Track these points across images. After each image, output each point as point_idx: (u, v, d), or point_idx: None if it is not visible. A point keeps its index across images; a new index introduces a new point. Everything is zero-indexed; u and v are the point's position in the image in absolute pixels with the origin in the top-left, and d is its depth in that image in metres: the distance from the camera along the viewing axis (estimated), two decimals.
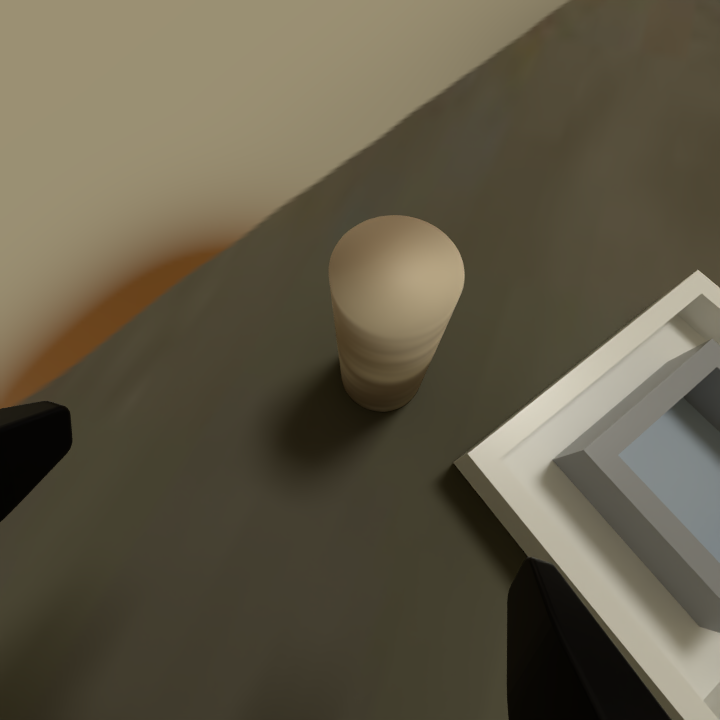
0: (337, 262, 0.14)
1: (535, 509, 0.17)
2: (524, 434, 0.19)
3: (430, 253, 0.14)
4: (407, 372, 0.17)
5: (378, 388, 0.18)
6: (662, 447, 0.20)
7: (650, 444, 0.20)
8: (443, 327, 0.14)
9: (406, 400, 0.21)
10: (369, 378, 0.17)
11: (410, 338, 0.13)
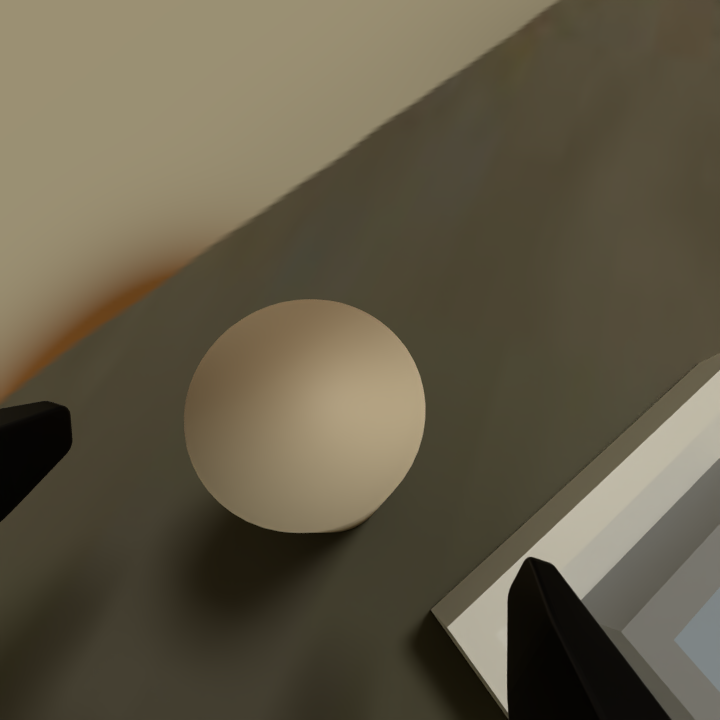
0: (202, 389, 0.08)
1: None
2: None
3: (366, 369, 0.08)
4: (348, 526, 0.11)
5: None
6: None
7: None
8: None
9: None
10: None
11: (330, 529, 0.07)
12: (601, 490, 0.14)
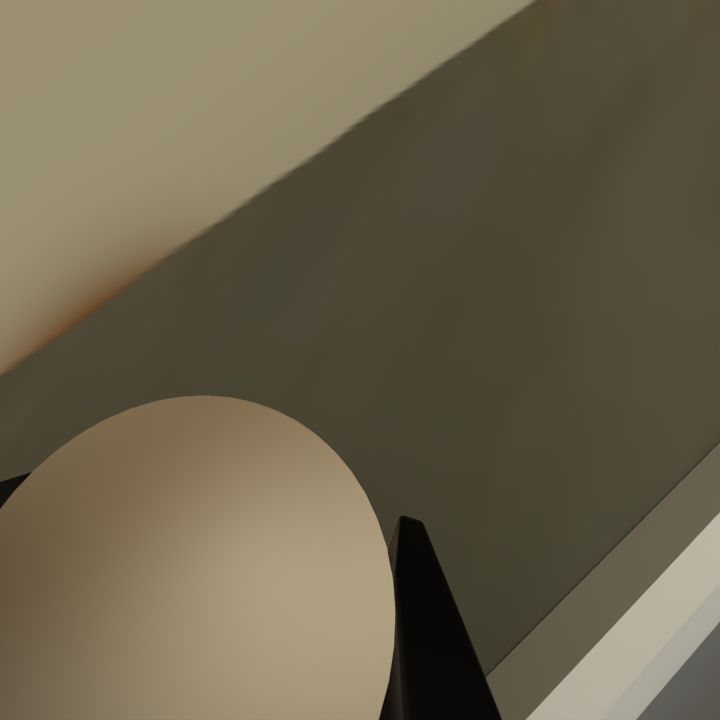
0: None
1: None
2: None
3: (291, 536, 0.04)
4: None
5: None
6: None
7: None
8: None
9: None
10: None
11: None
12: (649, 600, 0.10)
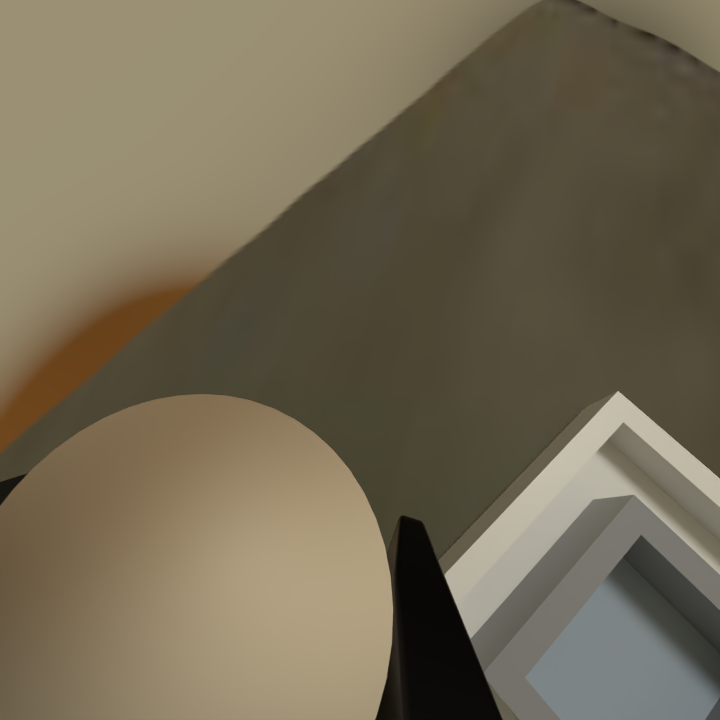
0: None
1: None
2: None
3: (289, 534, 0.04)
4: None
5: None
6: (591, 617, 0.17)
7: (577, 616, 0.17)
8: None
9: None
10: None
11: None
12: (478, 545, 0.16)
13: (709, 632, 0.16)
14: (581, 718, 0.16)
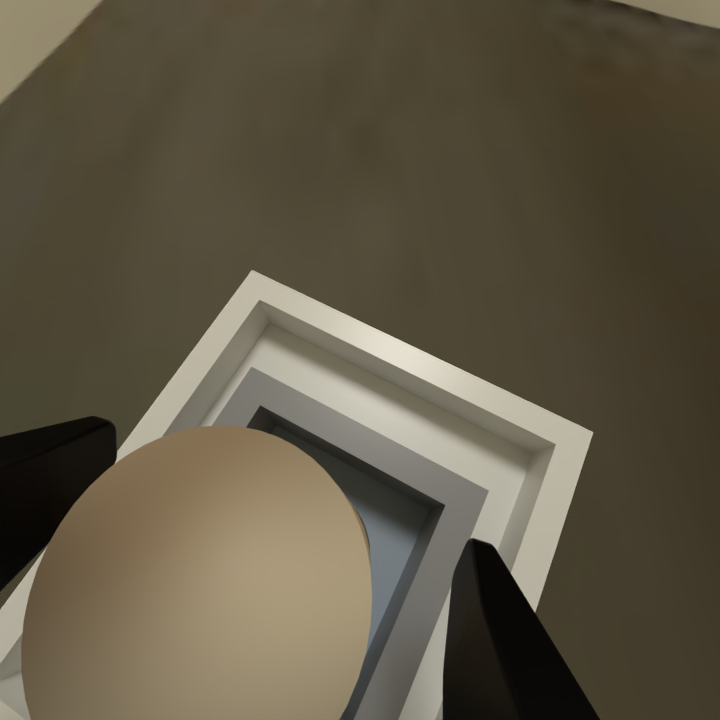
0: (55, 573, 0.05)
1: None
2: None
3: (291, 539, 0.06)
4: None
5: None
6: None
7: None
8: None
9: None
10: None
11: None
12: None
13: (384, 481, 0.15)
14: None
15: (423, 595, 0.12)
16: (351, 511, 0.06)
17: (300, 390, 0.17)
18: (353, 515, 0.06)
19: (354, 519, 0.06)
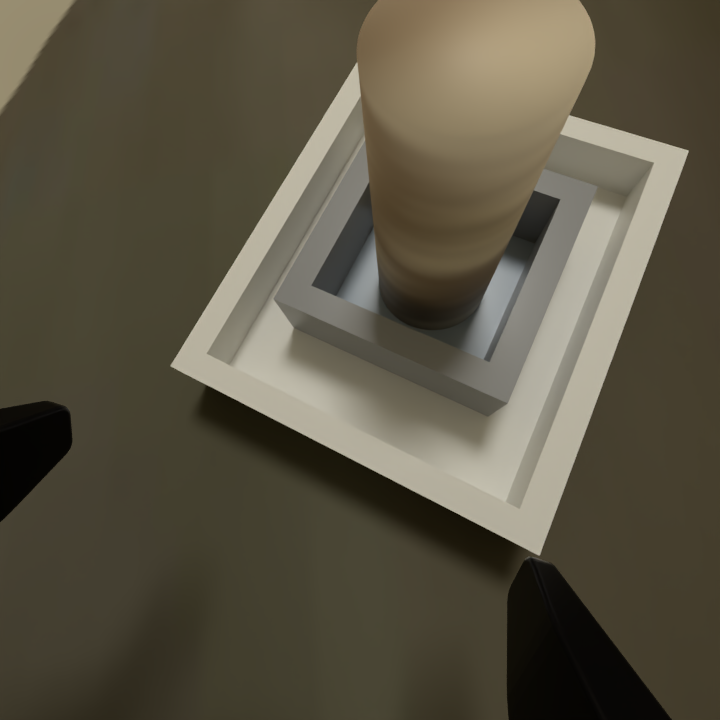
0: (370, 42, 0.08)
1: (257, 386, 0.15)
2: (225, 315, 0.16)
3: (529, 10, 0.08)
4: (482, 248, 0.11)
5: (435, 286, 0.13)
6: None
7: None
8: (551, 148, 0.09)
9: (469, 311, 0.16)
10: (423, 267, 0.12)
11: (502, 158, 0.08)
12: (263, 222, 0.17)
13: None
14: None
15: (547, 261, 0.14)
16: None
17: None
18: None
19: None
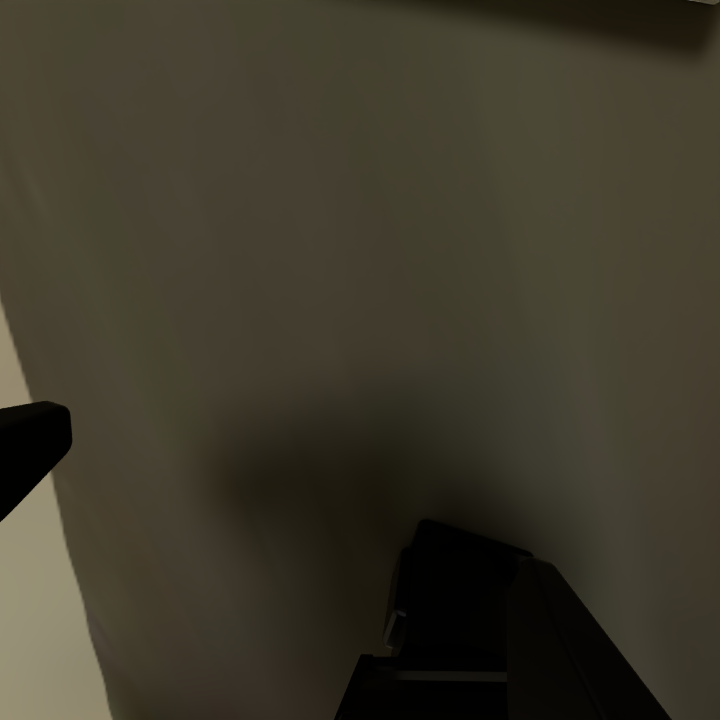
0: None
1: None
2: None
3: None
4: None
5: None
6: None
7: None
8: None
9: None
10: None
11: None
12: None
13: None
14: None
15: None
16: None
17: None
18: None
19: None
